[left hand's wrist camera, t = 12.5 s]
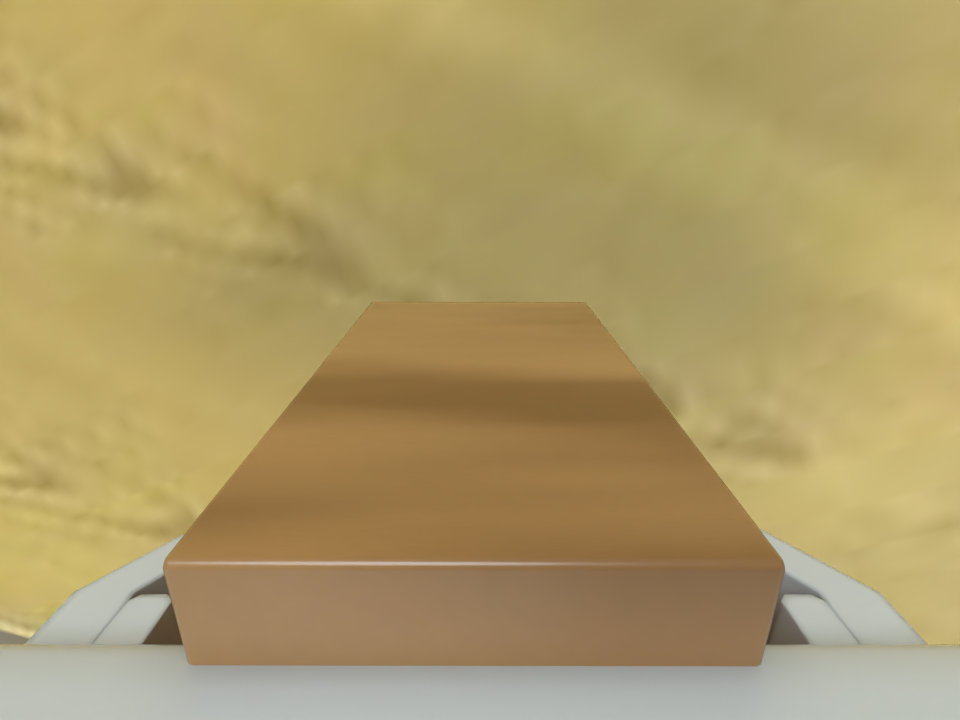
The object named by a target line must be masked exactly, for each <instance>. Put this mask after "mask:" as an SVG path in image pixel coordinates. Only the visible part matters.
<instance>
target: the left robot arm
mask: <svg viewBox="0 0 960 720" xmlns="http://www.w3.org/2000/svg"><path fill="white" fill-rule="evenodd" d="M760 530H761V529H760ZM761 532H762V533H763V534H764V536H765V537H766V538H767V540H768V541H769V542H770V543H771V545H772V546H773V547H774V549H775V550H776V551H777V553H778V554H779V555H780V556H781V558H782V559H783V562H784V565H785V573H784V577H783V581H782V584H781V588H780V592H779V596H778V600H777V604H776V608H775V612H774V615H773V619H772V623H771V627H770V631H769V635H768V639H767V642H766V646H765V650H764V654H763V658H762V662H761V665H758V666H272V665H191V664H189V663H188V661H187V657H186V654H185V650H184V646H183V643H182V639H181V635H180V631H179V628H178V624H177V620H176V616H175V613H174V609H173V605H172V602H171V598H170V594H169V590H168V587H167V583H166V579H165V575H164V572H163V564H164V561H165V558H166V557H167V555H168V554H169V553H170V552H171V551H172V549H173V548H174V547H175V546H176V544H177V543H178V542H179V541H180V539H181V538H182V537H183V536H184V534H183V535H181V536H179V537H178V538H176V539H174V540H172V541H170V542H168V543H166V544H164V545H162V546H160V547H159V548H157V549H155V550H153V551H151V552H149V553H147V554H145V555H143V556H142V557H140V558H138V559H136V560H134V561H132V562H130V563H128V564H126V565H124V566H123V567H121V568H119V569H117V570H115V571H113V572H111V573H109V574H107V575H106V576H104V577H102V578H100V579H98V580H96V581H94V582H92V583H90V584H88V585H87V586H85V587H83V588H81V589H79V590H77V591H75V592H74V593H73V594H72V595H71V596H70V597H69V598H68V599H67V600H66V601H65V602H64V603H63V604H62V605H61V606H60V607H59V608H58V609H57V610H56V612H55V613H54V614H53V615H52V616H51V617H50V618H49V619H48V620H47V621H46V622H45V623H44V624H43V625H42V626H41V627H40V628H39V629H38V630H37V631H36V633H35V634H34V635H33V636H32V637H31V638H30V639H29V640H28V641H27V642H26V643H25V644H24V645H0V720H960V645H928V644H927V643H926V642H925V641H924V640H923V639H922V638H921V636H920V635H919V634H918V633H917V632H916V631H915V630H914V629H913V628H912V627H911V626H910V625H909V624H908V623H907V621H906V620H905V619H904V618H903V617H902V616H901V615H900V614H899V613H898V612H897V611H896V610H895V609H894V607H893V606H892V605H891V604H890V603H889V602H888V601H887V600H886V599H885V598H884V597H883V596H882V595H881V594H880V593H879V592H877V591H875V590H874V589H872V588H870V587H868V586H866V585H864V584H862V583H860V582H859V581H857V580H855V579H853V578H851V577H849V576H847V575H845V574H844V573H842V572H840V571H838V570H836V569H834V568H832V567H831V566H829V565H827V564H825V563H823V562H821V561H819V560H817V559H816V558H814V557H812V556H810V555H808V554H806V553H804V552H802V551H801V550H799V549H797V548H795V547H793V546H791V545H789V544H787V543H786V542H784V541H782V540H780V539H778V538H776V537H774V536H773V535H771V534H769V533H767V532H765V531H763V530H761Z"/></svg>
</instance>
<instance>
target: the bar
mask: <svg viewBox="0 0 960 720" xmlns="http://www.w3.org/2000/svg"><path fill="white" fill-rule="evenodd" d="M163 572H164V575H165V579H166V583H167V587H168V590H169V594H170V598H171V602H172V605H173V609H174V613H175V616H176V620H177V624H178V628H179V631H180V635H181V639H182V643H183V646H184V650H185V654H186V657H187V661H188V663H189V664H191V665H272V666H758V665H761V662H762V658H763V654H764V650H765V646H766V642H767V639H768V635H769V631H770V627H771V623H772V619H773V615H774V612H775V608H776V604H777V600H778V596H779V592H780V588H781V584H782V581H783V577H784V573H785V565H784V562H783V559H782V558H781V556H780V555H779V554H778V553H777V551H776V550H775V549H774V547H773V546H772V545H771V543H770V542H769V541H768V540H767V538H766V537H765V536H764V534H763V533H762V532H761V530H760V529H759V528H758V527H757V525H756V524H755V523H754V521H753V520H752V519H751V517H750V516H749V515H748V513H747V512H746V511H745V510H744V508H743V507H742V506H741V504H740V503H739V502H738V500H737V499H736V498H735V497H734V495H733V494H732V493H731V491H730V490H729V489H728V487H727V486H726V485H725V484H724V482H723V481H722V480H721V478H720V477H719V476H718V474H717V473H716V472H715V470H714V469H713V468H712V467H711V465H710V464H709V463H708V461H707V460H706V459H705V457H704V456H703V455H702V454H701V452H700V451H699V450H698V448H697V447H696V446H695V444H694V443H693V442H692V441H691V439H690V438H689V437H688V435H687V434H686V433H685V431H684V430H683V429H682V427H681V426H680V425H679V424H678V422H677V421H676V420H675V418H674V417H673V416H672V414H671V413H670V412H669V411H668V409H667V408H666V407H665V405H664V404H663V403H662V401H661V400H660V399H659V398H658V396H657V395H656V394H655V392H654V391H653V390H652V388H651V387H650V386H649V384H648V383H647V382H646V381H645V379H644V378H643V377H642V375H641V374H640V373H639V371H638V370H637V369H636V368H635V366H634V365H633V364H632V362H631V361H630V360H629V358H628V357H627V356H626V355H625V353H624V352H623V351H622V349H621V348H620V347H619V345H618V344H617V343H616V341H615V340H614V339H613V338H612V336H611V335H610V334H609V332H608V331H607V330H606V328H605V327H604V326H603V325H602V323H601V322H600V321H599V319H598V318H597V317H596V315H595V314H594V313H593V312H592V310H591V309H590V308H589V306H588V305H587V304H586V303H584V302H373V303H371V304H370V305H369V307H368V308H367V309H366V310H365V312H364V313H363V314H362V315H361V317H360V318H359V319H358V320H357V322H356V323H355V324H354V325H353V326H352V328H351V329H350V330H349V331H348V333H347V334H346V335H345V336H344V338H343V339H342V340H341V341H340V343H339V344H338V345H337V346H336V348H335V349H334V350H333V351H332V352H331V354H330V355H329V356H328V357H327V359H326V360H325V361H324V362H323V364H322V365H321V366H320V367H319V369H318V370H317V371H316V372H315V374H314V375H313V376H312V377H311V378H310V380H309V381H308V382H307V383H306V385H305V386H304V387H303V388H302V390H301V391H300V392H299V393H298V395H297V396H296V397H295V398H294V400H293V401H292V402H291V403H290V404H289V406H288V407H287V408H286V409H285V411H284V412H283V413H282V414H281V416H280V417H279V418H278V419H277V421H276V422H275V423H274V424H273V426H272V427H271V428H270V429H269V430H268V432H267V433H266V434H265V435H264V437H263V438H262V439H261V440H260V442H259V443H258V444H257V445H256V447H255V448H254V449H253V450H252V451H251V453H250V454H249V455H248V456H247V458H246V459H245V460H244V461H243V463H242V464H241V465H240V466H239V468H238V469H237V470H236V471H235V473H234V474H233V475H232V476H231V477H230V479H229V480H228V481H227V482H226V484H225V485H224V486H223V487H222V489H221V490H220V491H219V492H218V494H217V495H216V496H215V497H214V499H213V500H212V501H211V502H210V503H209V505H208V506H207V507H206V508H205V510H204V511H203V512H202V513H201V515H200V516H199V517H198V518H197V520H196V521H195V522H194V523H193V525H192V526H191V527H190V528H189V529H188V531H187V532H186V533H185V534H184V536H183V537H182V538H181V539H180V541H179V542H178V543H177V544H176V546H175V547H174V548H173V549H172V551H171V552H170V553H169V554H168V555H167V557H166V558H165V561H164V564H163Z"/></svg>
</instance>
